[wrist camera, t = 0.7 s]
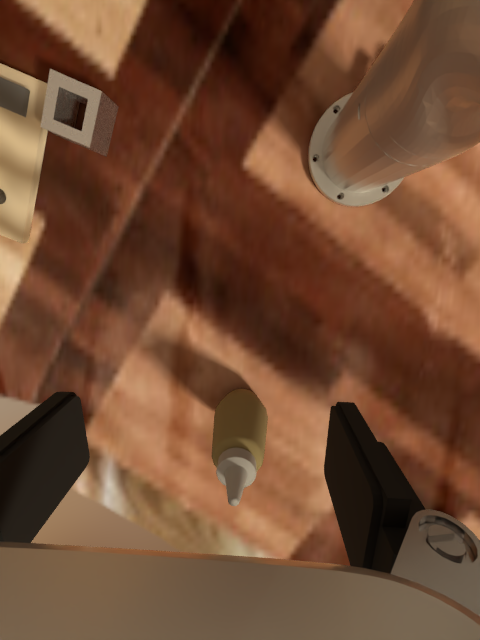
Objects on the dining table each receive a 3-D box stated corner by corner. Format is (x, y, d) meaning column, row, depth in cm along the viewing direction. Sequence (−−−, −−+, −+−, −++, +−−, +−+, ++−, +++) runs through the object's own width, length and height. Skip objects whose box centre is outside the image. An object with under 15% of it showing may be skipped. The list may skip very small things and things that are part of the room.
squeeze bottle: (215, 381, 46) (191, 469, 29) (266, 381, 46) (273, 469, 28) (218, 425, 48) (198, 530, 31) (267, 425, 48) (273, 532, 31)
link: (72, 86, 36) (50, 68, 32) (118, 106, 36) (101, 91, 32) (62, 138, 37) (40, 126, 34) (106, 156, 38) (89, 147, 34)
